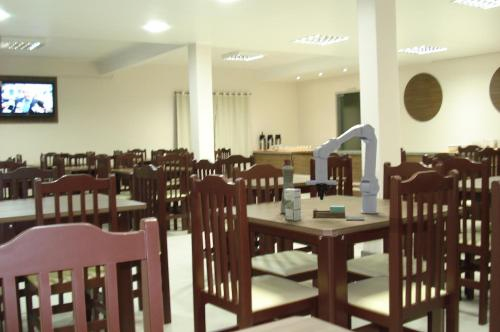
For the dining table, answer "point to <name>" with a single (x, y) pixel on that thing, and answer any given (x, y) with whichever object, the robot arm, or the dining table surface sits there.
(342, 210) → the block
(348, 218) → the mat
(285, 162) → the bottle
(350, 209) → the dining table surface
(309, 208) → the dining table surface
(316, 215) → the trough
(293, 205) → the syrup box
